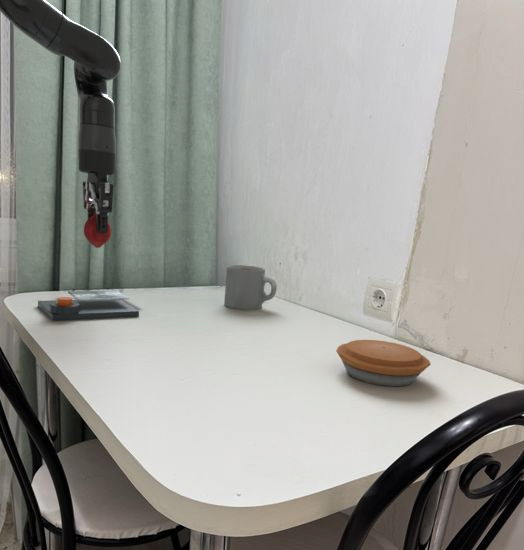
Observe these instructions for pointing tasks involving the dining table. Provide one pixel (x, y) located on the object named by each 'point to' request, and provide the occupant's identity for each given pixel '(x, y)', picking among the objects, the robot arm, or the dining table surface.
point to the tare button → (64, 301)
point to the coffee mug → (247, 287)
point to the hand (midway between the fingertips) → (97, 231)
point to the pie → (382, 362)
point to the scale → (87, 310)
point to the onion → (95, 233)
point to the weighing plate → (97, 295)
